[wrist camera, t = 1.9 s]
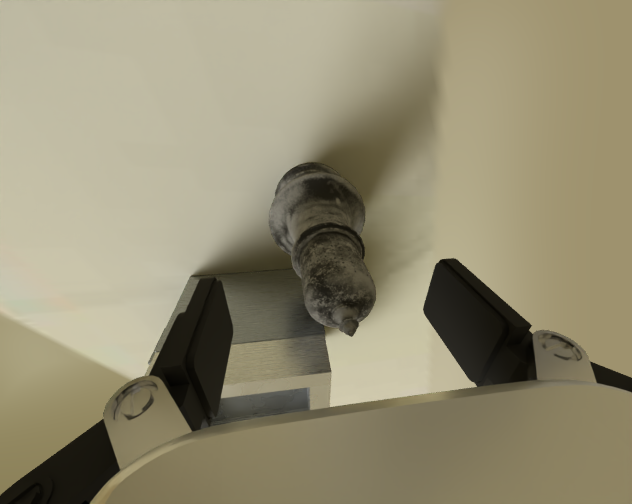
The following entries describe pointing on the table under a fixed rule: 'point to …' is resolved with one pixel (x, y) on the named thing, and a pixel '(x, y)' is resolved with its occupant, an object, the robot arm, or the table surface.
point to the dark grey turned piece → (324, 243)
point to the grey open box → (266, 347)
